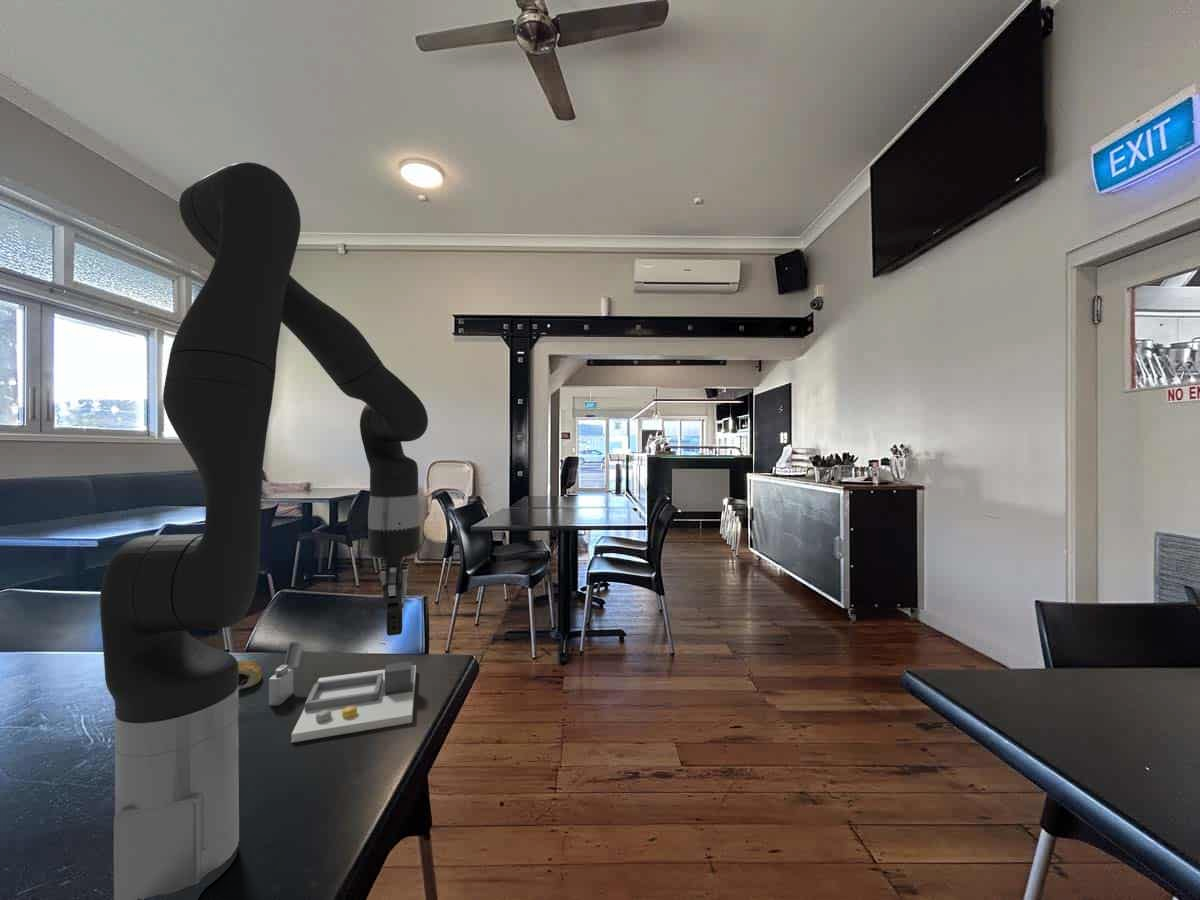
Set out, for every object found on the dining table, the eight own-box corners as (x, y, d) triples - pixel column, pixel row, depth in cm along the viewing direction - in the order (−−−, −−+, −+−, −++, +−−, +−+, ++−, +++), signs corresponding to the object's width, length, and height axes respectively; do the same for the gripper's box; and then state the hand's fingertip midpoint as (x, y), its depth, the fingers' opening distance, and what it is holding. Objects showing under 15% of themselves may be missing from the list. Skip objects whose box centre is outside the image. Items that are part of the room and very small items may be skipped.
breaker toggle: (410, 689, 82) (410, 668, 82) (384, 693, 81) (384, 672, 81) (411, 681, 85) (411, 661, 85) (386, 685, 84) (386, 664, 84)
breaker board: (411, 722, 75) (411, 706, 75) (291, 742, 70) (291, 725, 70) (415, 671, 92) (415, 658, 92) (319, 684, 87) (319, 671, 87)
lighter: (279, 705, 80) (279, 656, 80) (268, 705, 80) (268, 656, 80) (303, 684, 87) (303, 639, 87) (293, 684, 87) (293, 639, 87)
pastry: (217, 676, 90) (217, 655, 90) (261, 667, 94) (262, 647, 94) (213, 698, 83) (213, 675, 83) (262, 687, 87) (262, 665, 87)
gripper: (419, 529, 72) (419, 646, 73) (420, 516, 85) (420, 616, 85) (362, 532, 70) (363, 653, 70) (372, 518, 82) (373, 621, 83)
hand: (394, 633), depth 78 cm, fingers closed
